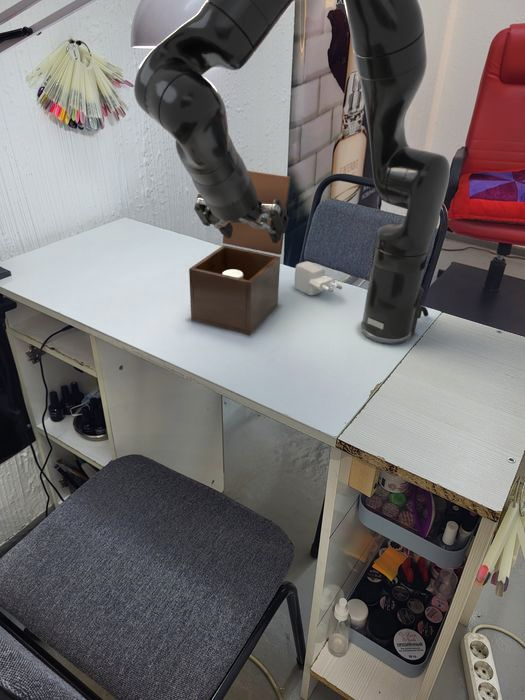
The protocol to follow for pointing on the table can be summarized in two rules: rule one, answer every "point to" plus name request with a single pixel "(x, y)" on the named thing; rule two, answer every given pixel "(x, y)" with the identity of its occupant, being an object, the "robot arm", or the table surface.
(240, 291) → the supply box
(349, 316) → the table surface
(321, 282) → the power adapter
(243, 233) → the lid
